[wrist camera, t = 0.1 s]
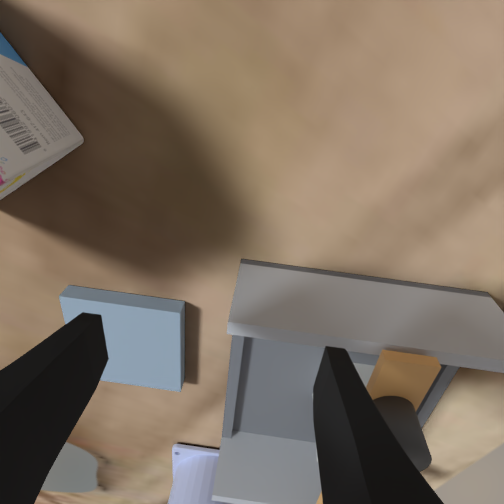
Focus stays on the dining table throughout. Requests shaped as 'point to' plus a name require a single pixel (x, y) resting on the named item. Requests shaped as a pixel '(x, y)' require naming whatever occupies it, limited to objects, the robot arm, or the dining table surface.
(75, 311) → the pad
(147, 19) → the dining table surface
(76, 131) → the ink box
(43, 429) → the robot arm
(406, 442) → the bar
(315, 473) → the case
